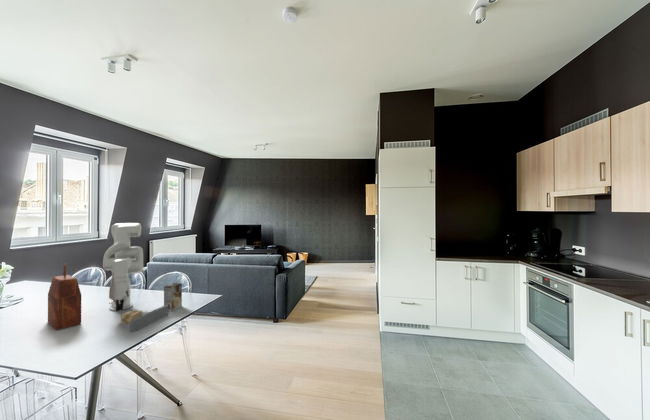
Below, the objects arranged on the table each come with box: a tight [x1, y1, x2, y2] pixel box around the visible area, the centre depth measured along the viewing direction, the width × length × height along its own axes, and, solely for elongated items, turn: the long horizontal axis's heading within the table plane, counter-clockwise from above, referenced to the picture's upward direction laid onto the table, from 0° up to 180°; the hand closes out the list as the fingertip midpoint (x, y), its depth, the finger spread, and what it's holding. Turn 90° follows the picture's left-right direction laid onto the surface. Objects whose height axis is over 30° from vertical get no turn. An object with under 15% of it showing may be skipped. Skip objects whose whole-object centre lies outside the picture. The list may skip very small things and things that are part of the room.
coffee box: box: [163, 282, 183, 312], centre depth 175 cm, size 9×6×16 cm
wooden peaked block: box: [47, 263, 82, 331], centre depth 151 cm, size 10×19×35 cm, turn 56°
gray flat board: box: [129, 304, 169, 333], centre depth 153 cm, size 2×24×6 cm, turn 169°
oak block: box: [120, 309, 143, 325], centre depth 155 cm, size 7×7×5 cm
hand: (119, 310), depth 156 cm, fingers closed
